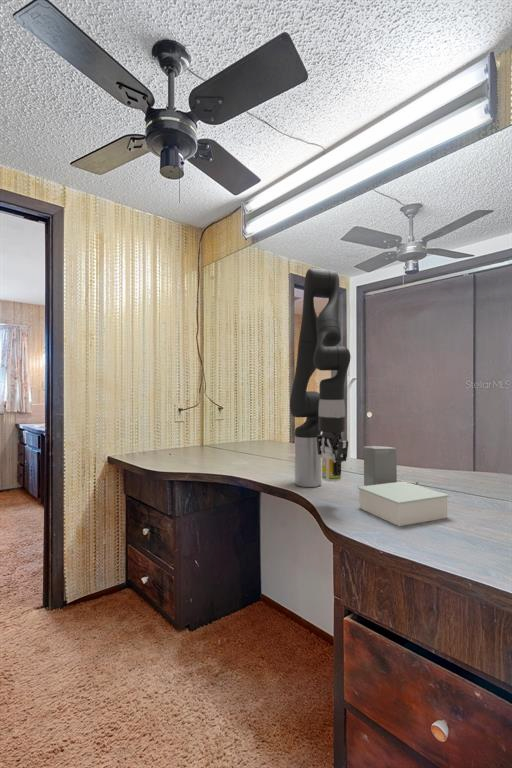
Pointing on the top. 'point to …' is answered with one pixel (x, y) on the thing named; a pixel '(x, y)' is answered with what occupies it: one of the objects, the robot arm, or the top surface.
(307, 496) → the top surface
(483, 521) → the top surface
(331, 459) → the supplement bottle
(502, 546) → the top surface
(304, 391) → the robot arm
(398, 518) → the podium
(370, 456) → the skincare box
